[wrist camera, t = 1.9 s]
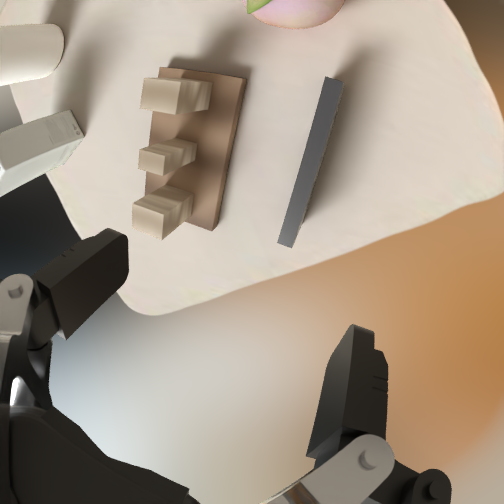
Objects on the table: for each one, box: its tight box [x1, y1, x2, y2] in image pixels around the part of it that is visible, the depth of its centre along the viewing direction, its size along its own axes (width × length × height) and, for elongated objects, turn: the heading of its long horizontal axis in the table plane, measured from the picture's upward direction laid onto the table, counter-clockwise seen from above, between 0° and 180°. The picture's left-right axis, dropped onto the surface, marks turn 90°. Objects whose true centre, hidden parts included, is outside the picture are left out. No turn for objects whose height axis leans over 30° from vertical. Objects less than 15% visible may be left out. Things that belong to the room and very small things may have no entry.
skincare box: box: [0, 110, 84, 197], centre depth 32 cm, size 8×6×15 cm
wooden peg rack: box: [132, 67, 247, 240], centre depth 30 cm, size 18×10×8 cm, turn 167°
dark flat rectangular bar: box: [277, 76, 345, 248], centre depth 27 cm, size 16×2×6 cm, turn 167°
